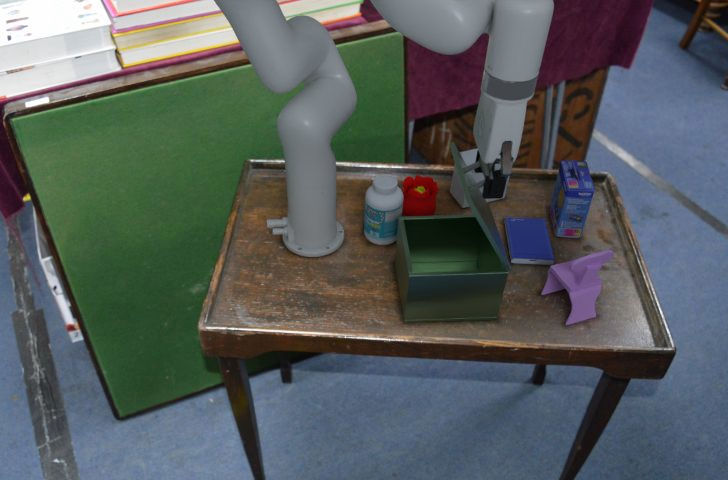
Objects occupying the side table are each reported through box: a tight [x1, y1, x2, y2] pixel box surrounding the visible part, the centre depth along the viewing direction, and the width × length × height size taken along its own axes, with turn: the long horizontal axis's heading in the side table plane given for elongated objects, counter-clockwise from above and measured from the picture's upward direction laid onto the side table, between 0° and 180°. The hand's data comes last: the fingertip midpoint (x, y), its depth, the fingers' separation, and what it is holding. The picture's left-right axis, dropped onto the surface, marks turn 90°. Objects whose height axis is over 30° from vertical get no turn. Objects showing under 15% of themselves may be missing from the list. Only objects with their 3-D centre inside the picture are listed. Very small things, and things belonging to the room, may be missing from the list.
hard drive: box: [504, 216, 556, 266], centre depth 132 cm, size 2×8×12 cm
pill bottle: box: [363, 173, 403, 246], centre depth 130 cm, size 8×7×14 cm
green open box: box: [394, 213, 509, 324], centre depth 119 cm, size 17×16×12 cm
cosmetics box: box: [449, 148, 514, 209], centre depth 140 cm, size 10×6×10 cm, turn 110°
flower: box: [400, 174, 440, 217], centre depth 137 cm, size 8×8×8 cm
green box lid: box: [449, 141, 512, 272], centre depth 109 cm, size 17×16×5 cm
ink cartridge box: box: [548, 158, 596, 239], centre depth 132 cm, size 10×6×14 cm, turn 174°
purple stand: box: [540, 249, 615, 326], centre depth 115 cm, size 8×9×15 cm
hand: (487, 183), depth 106 cm, fingers closed on green box lid, 6 cm apart
